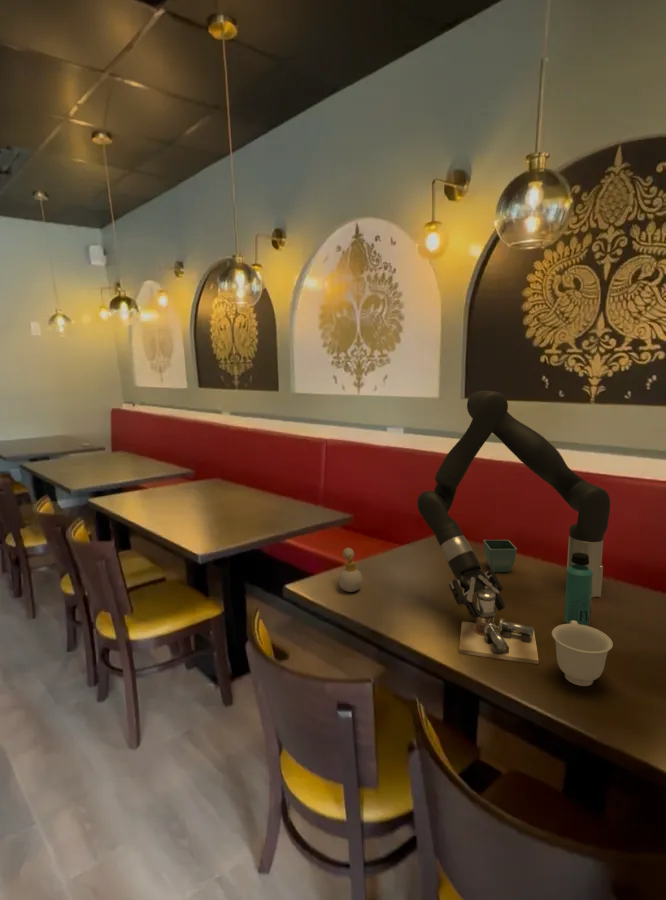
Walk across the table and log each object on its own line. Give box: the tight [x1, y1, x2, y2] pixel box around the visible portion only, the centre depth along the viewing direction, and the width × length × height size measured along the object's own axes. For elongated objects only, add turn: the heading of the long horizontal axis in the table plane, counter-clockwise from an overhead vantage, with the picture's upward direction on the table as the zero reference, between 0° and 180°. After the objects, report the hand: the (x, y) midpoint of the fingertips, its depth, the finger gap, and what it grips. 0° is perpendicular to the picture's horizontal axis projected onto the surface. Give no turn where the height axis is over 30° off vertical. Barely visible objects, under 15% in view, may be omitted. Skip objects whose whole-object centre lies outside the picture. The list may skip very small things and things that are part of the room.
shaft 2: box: [498, 617, 535, 643], centre depth 131 cm, size 8×4×4 cm, turn 63°
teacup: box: [551, 620, 614, 687], centre depth 116 cm, size 12×15×10 cm
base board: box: [458, 621, 539, 665], centre depth 130 cm, size 18×14×1 cm
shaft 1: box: [484, 622, 509, 654], centre depth 127 cm, size 8×4×4 cm, turn 3°
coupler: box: [475, 589, 496, 634], centre depth 134 cm, size 5×5×10 cm
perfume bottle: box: [338, 547, 364, 593], centre depth 162 cm, size 8×10×12 cm
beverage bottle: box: [563, 553, 593, 626], centre depth 136 cm, size 6×7×20 cm
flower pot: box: [483, 539, 518, 573], centre depth 175 cm, size 9×9×9 cm
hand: (489, 613), depth 133 cm, fingers open, 8 cm apart
